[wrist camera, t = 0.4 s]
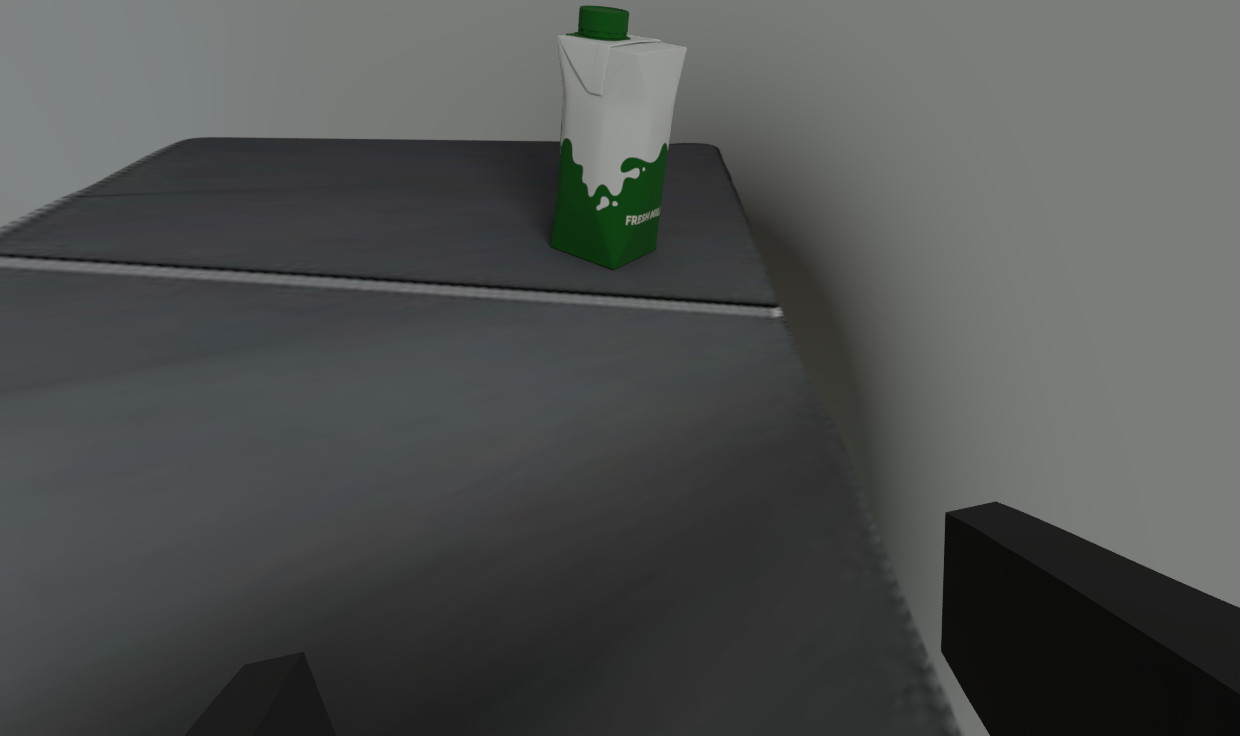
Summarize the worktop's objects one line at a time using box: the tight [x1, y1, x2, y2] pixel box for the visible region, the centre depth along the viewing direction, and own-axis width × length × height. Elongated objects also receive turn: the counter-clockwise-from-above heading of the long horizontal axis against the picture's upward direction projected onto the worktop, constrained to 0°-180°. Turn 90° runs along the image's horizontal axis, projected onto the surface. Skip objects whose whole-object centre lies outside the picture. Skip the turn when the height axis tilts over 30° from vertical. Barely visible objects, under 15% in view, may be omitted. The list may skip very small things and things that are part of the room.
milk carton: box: [551, 6, 687, 270], centre depth 67 cm, size 9×9×20 cm
